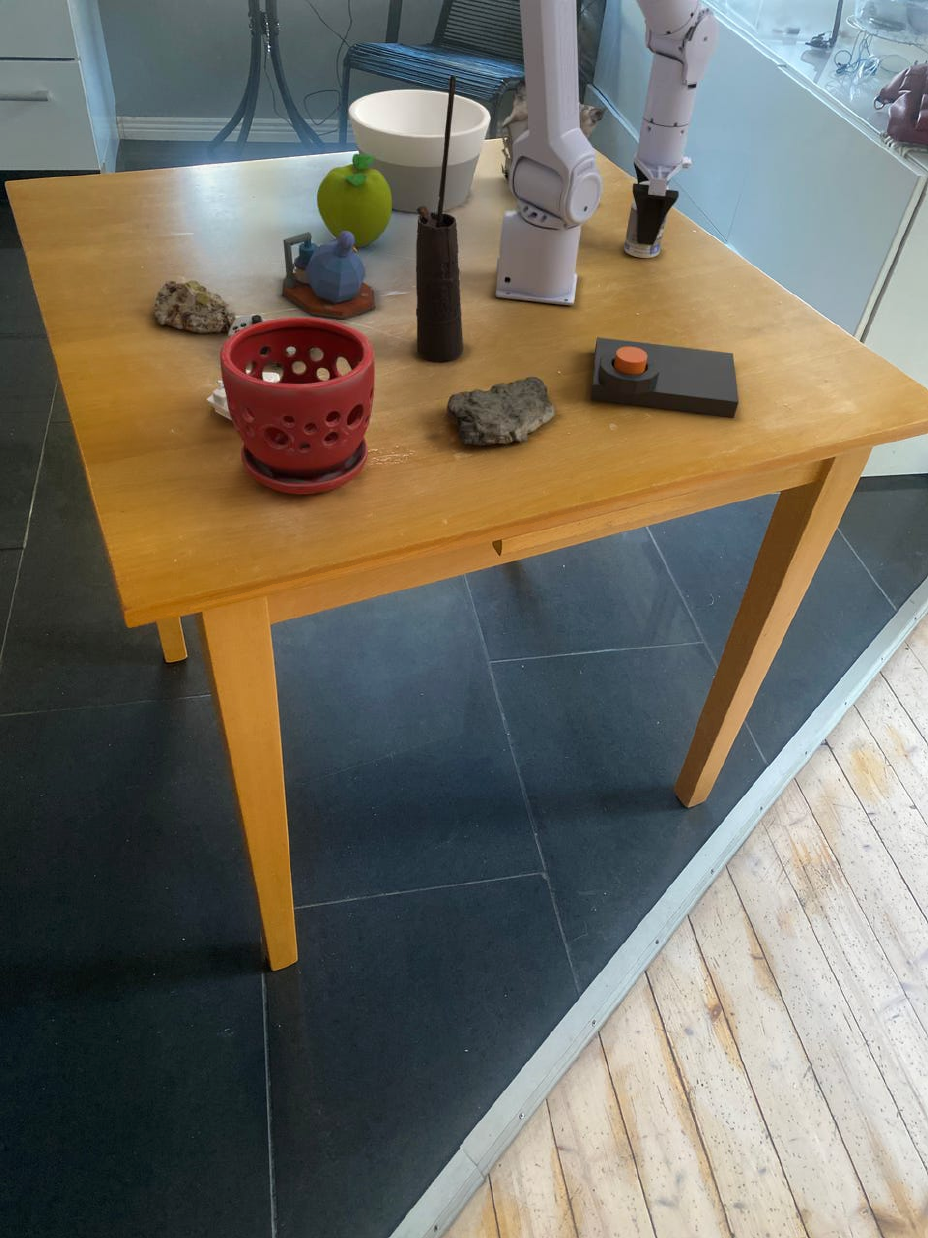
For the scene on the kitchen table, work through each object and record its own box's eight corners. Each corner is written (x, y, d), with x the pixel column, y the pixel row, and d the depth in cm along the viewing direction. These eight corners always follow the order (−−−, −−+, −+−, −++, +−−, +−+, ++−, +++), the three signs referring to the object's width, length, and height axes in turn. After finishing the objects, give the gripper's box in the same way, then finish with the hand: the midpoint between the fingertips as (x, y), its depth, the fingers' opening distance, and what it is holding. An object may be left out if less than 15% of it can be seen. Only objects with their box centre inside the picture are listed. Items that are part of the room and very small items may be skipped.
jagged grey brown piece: (598, 203, 136) (613, 104, 127) (583, 212, 134) (597, 111, 125) (511, 175, 142) (520, 78, 133) (495, 183, 140) (502, 85, 130)
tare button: (613, 373, 97) (615, 360, 96) (614, 358, 100) (616, 344, 99) (644, 377, 97) (647, 364, 96) (644, 361, 99) (647, 348, 98)
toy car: (202, 413, 94) (195, 377, 91) (261, 382, 99) (257, 345, 96) (235, 432, 92) (230, 395, 89) (294, 399, 97) (291, 362, 94)
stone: (529, 385, 101) (532, 361, 99) (578, 426, 96) (582, 402, 94) (416, 422, 95) (416, 397, 93) (461, 467, 90) (463, 442, 88)
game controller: (325, 335, 104) (305, 316, 98) (312, 383, 104) (291, 367, 98) (246, 317, 106) (222, 298, 100) (233, 364, 106) (209, 347, 100)
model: (390, 303, 112) (390, 224, 105) (327, 326, 107) (323, 246, 101) (329, 265, 118) (325, 189, 111) (266, 286, 113) (259, 208, 107)
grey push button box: (589, 405, 99) (594, 375, 96) (594, 352, 106) (599, 323, 104) (734, 423, 98) (743, 393, 95) (728, 368, 106) (736, 339, 103)
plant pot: (402, 477, 88) (403, 362, 80) (275, 524, 83) (262, 406, 74) (332, 409, 96) (326, 297, 87) (211, 449, 90) (192, 333, 81)
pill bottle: (658, 261, 124) (671, 195, 118) (622, 256, 124) (633, 190, 118) (660, 246, 127) (673, 181, 121) (625, 241, 128) (636, 176, 122)
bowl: (334, 173, 139) (330, 93, 131) (456, 162, 145) (459, 84, 137) (375, 227, 127) (374, 142, 119) (506, 212, 132) (513, 130, 125)
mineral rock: (128, 297, 105) (179, 255, 108) (143, 327, 109) (191, 286, 112) (197, 332, 101) (248, 288, 104) (210, 362, 105) (258, 319, 108)
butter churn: (378, 332, 107) (374, 53, 87) (457, 321, 110) (471, 48, 90) (404, 373, 101) (406, 84, 81) (487, 360, 104) (508, 77, 84)
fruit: (398, 231, 126) (398, 152, 119) (381, 261, 120) (380, 179, 112) (331, 222, 127) (328, 143, 120) (311, 252, 120) (306, 170, 113)
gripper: (702, 142, 109) (677, 257, 119) (698, 102, 119) (675, 211, 129) (640, 136, 109) (620, 251, 119) (641, 97, 120) (623, 205, 129)
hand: (645, 230), depth 124 cm, fingers open, 7 cm apart
